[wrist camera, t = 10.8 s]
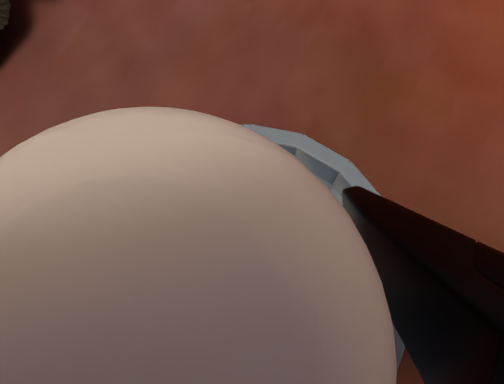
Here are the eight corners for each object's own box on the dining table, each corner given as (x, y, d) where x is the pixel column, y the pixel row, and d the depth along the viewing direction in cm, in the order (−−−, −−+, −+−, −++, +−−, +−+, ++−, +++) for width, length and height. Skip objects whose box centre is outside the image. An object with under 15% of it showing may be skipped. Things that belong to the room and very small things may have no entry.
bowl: (411, 209, 17) (457, 189, 12) (323, 462, 15) (341, 544, 10) (194, 127, 18) (166, 83, 14) (92, 345, 17) (23, 373, 12)
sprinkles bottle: (183, 309, 16) (-277, 503, 3) (227, 215, 17) (25, 21, 4) (278, 357, 15) (255, 928, 2) (320, 257, 16) (502, 211, 3)
